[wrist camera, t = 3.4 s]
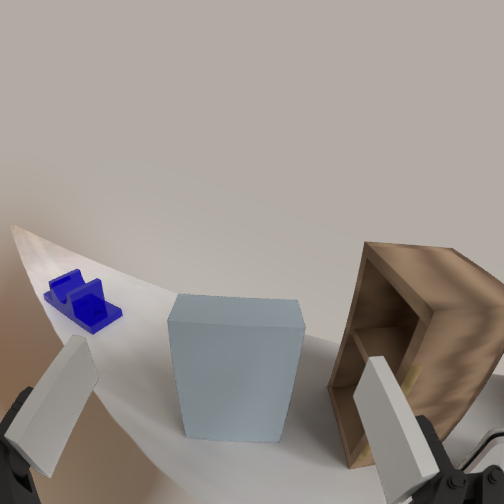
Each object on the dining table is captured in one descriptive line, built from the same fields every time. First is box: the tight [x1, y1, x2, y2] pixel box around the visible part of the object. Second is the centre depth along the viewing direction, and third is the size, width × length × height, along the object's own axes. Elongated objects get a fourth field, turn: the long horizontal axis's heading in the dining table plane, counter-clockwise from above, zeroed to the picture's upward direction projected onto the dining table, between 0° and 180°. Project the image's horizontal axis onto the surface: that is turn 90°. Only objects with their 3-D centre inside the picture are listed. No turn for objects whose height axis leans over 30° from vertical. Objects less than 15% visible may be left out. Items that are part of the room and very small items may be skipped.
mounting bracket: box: [44, 269, 123, 335], centre depth 46 cm, size 18×7×6 cm, turn 65°
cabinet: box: [328, 242, 504, 469], centre depth 24 cm, size 12×14×20 cm
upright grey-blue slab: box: [167, 294, 305, 442], centre depth 25 cm, size 10×5×16 cm, turn 90°
